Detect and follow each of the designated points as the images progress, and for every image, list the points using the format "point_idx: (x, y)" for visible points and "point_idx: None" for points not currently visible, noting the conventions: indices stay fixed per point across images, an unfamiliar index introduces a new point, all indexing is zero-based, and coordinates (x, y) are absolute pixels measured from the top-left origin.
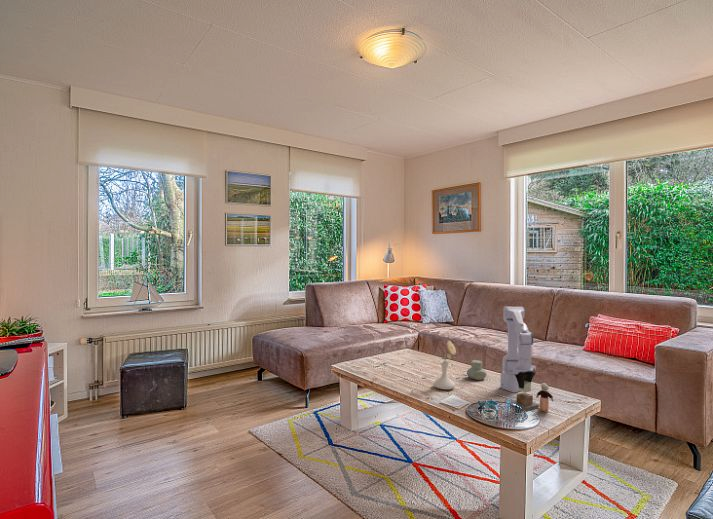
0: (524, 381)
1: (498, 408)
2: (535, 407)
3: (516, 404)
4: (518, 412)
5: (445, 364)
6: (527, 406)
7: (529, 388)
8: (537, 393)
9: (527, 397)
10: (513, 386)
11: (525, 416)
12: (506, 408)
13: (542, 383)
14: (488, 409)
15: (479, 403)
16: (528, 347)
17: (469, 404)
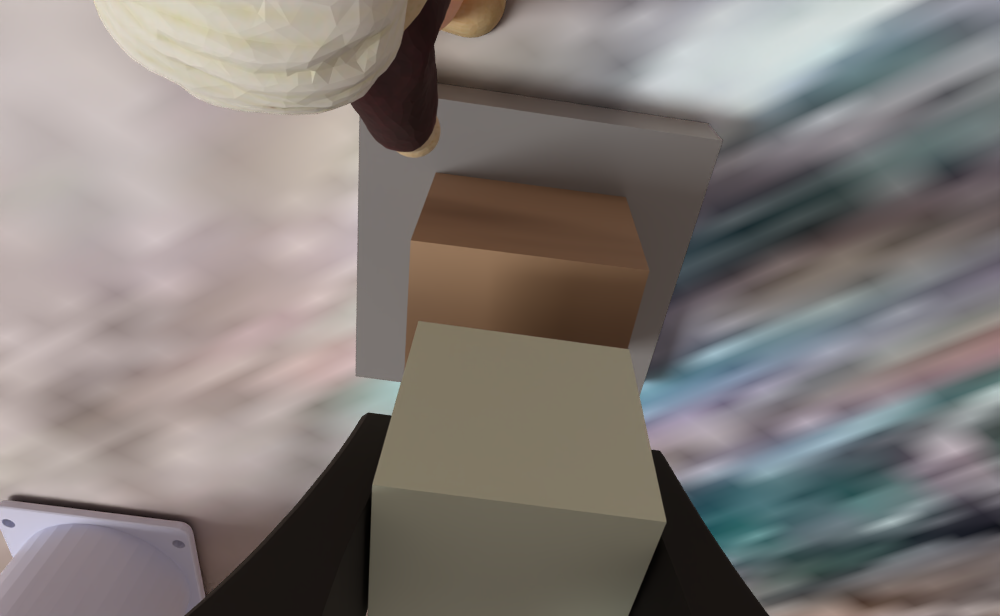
0: (698, 613)
1: (862, 409)
2: (463, 92)
3: (663, 317)
4: (844, 181)
5: None
6: (628, 167)
7: (461, 373)
8: (420, 140)
9: (592, 257)
10: (131, 595)
11: (971, 12)
12: (790, 354)
13: (287, 50)
14: (979, 458)
15: (834, 575)
16: None
17: (936, 610)
